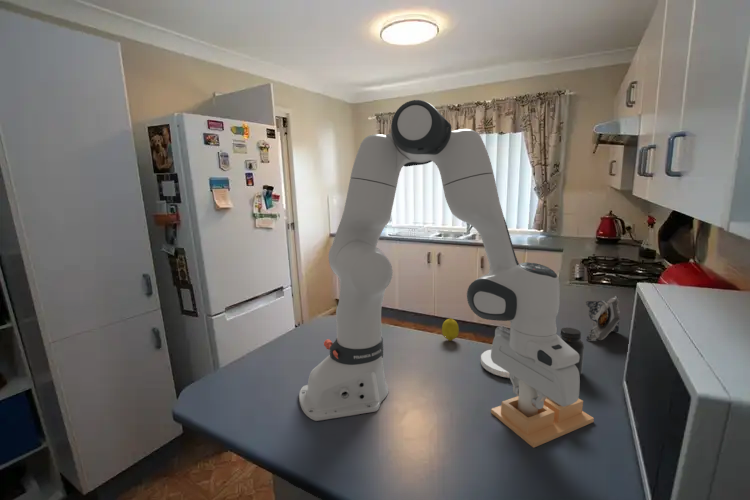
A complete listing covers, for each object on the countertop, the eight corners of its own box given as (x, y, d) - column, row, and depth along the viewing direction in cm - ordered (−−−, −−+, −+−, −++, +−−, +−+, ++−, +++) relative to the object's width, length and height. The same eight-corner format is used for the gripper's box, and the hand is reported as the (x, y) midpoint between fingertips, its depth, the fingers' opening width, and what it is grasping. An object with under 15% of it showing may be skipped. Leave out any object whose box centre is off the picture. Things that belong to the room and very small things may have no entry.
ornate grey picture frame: (605, 329, 124) (609, 294, 122) (618, 333, 121) (623, 297, 118) (581, 338, 117) (585, 301, 115) (594, 343, 113) (599, 305, 111)
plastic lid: (540, 367, 100) (540, 359, 99) (520, 387, 90) (521, 378, 89) (494, 351, 109) (494, 344, 109) (471, 368, 100) (471, 360, 99)
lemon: (458, 345, 114) (459, 322, 112) (441, 343, 115) (442, 320, 113) (458, 337, 119) (458, 315, 118) (441, 336, 120) (442, 314, 119)
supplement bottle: (580, 367, 99) (584, 328, 96) (583, 379, 93) (587, 337, 90) (553, 362, 102) (556, 324, 99) (554, 374, 95) (557, 333, 93)
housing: (533, 447, 69) (536, 407, 67) (490, 412, 80) (492, 376, 78) (593, 422, 76) (597, 384, 75) (546, 393, 87) (549, 359, 85)
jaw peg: (527, 420, 73) (530, 386, 72) (513, 409, 77) (515, 376, 75) (541, 415, 75) (544, 381, 74) (526, 405, 79) (529, 372, 77)
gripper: (485, 325, 81) (483, 379, 83) (564, 366, 62) (558, 434, 65) (506, 320, 83) (503, 373, 86) (588, 358, 65) (581, 424, 67)
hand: (527, 400), depth 75 cm, fingers closed on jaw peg, 4 cm apart
